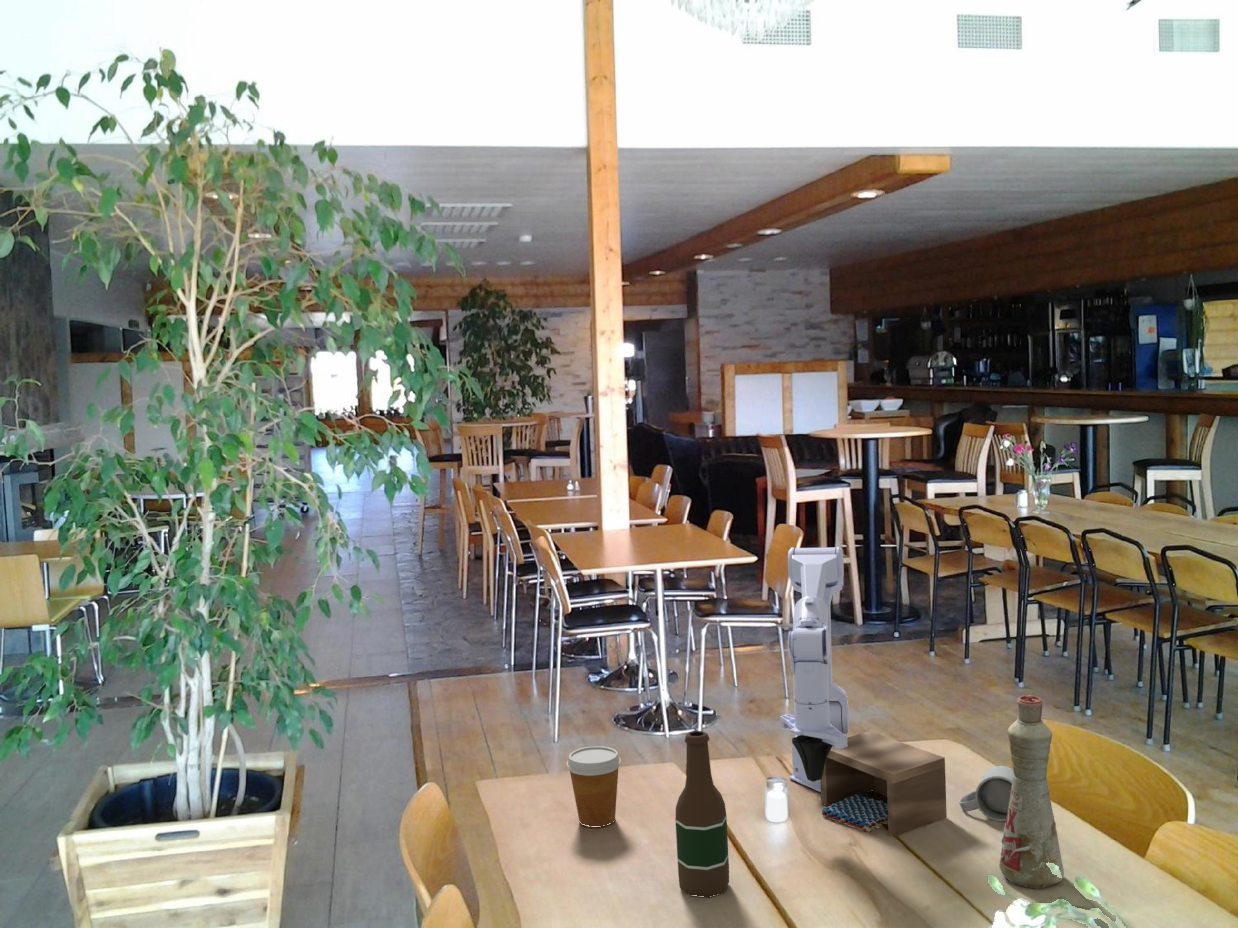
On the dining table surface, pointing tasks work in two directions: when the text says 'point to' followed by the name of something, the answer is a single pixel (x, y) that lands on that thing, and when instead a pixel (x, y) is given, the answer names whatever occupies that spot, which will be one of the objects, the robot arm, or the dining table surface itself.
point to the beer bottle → (701, 825)
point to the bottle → (1030, 803)
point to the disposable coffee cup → (595, 783)
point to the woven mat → (858, 812)
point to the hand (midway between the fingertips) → (814, 779)
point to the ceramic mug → (991, 794)
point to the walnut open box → (888, 779)
